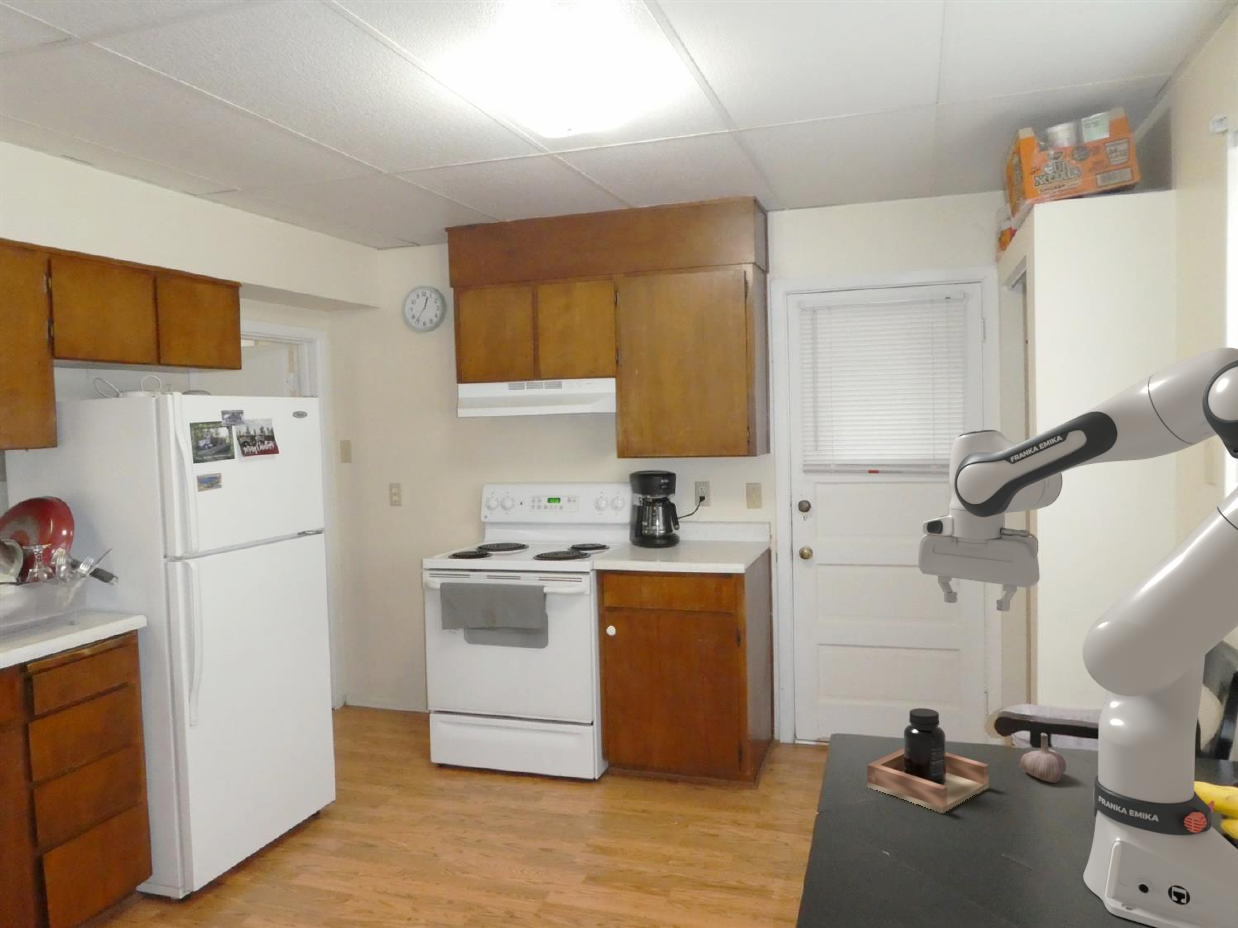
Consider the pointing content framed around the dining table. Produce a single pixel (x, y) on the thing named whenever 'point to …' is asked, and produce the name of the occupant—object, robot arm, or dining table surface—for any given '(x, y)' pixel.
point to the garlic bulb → (1044, 762)
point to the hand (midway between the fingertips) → (976, 606)
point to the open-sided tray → (958, 787)
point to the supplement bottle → (925, 746)
